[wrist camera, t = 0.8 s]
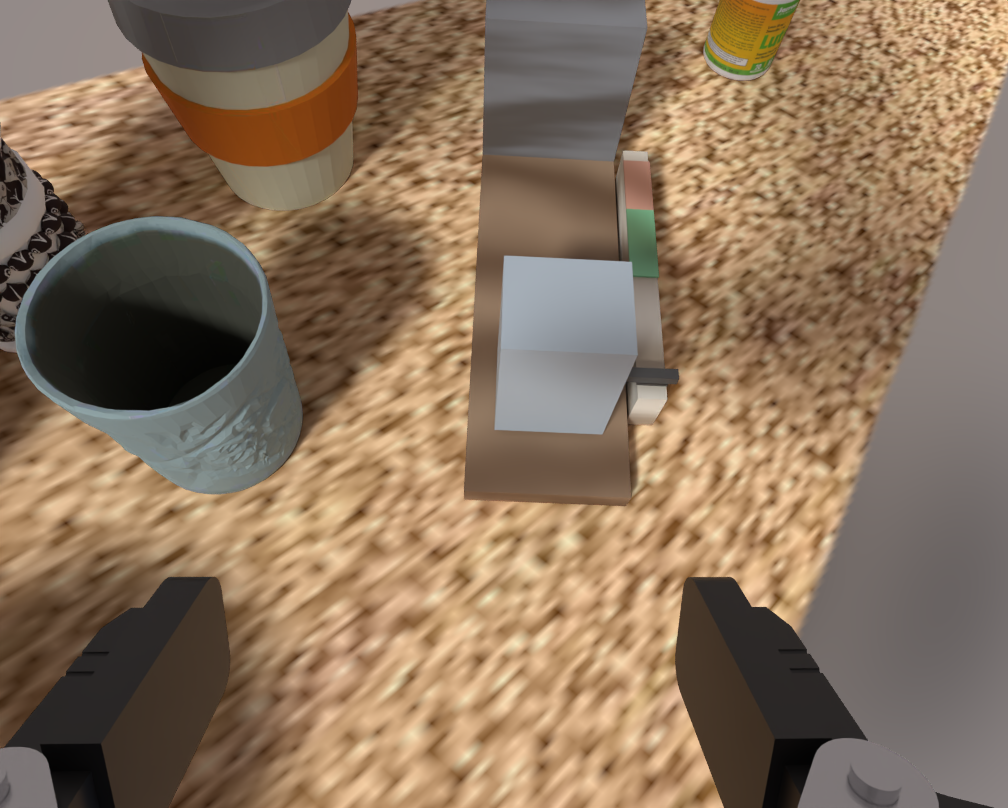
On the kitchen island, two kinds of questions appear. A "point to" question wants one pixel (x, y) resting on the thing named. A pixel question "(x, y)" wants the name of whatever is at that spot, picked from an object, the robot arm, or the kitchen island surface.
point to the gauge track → (560, 228)
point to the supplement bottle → (747, 36)
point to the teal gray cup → (166, 350)
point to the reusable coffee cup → (256, 88)
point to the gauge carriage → (566, 344)
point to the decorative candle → (27, 234)
